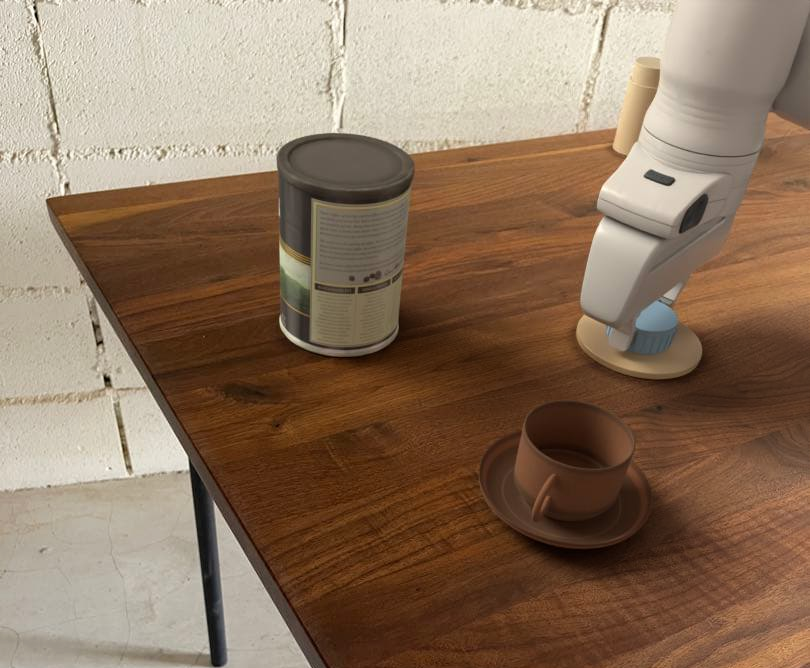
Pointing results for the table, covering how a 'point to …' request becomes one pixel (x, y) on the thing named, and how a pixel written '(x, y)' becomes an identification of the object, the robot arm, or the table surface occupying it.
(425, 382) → the table surface
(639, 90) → the jar
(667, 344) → the lid
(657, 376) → the coaster
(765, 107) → the robot arm
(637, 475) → the cup and saucer
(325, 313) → the coffee can
